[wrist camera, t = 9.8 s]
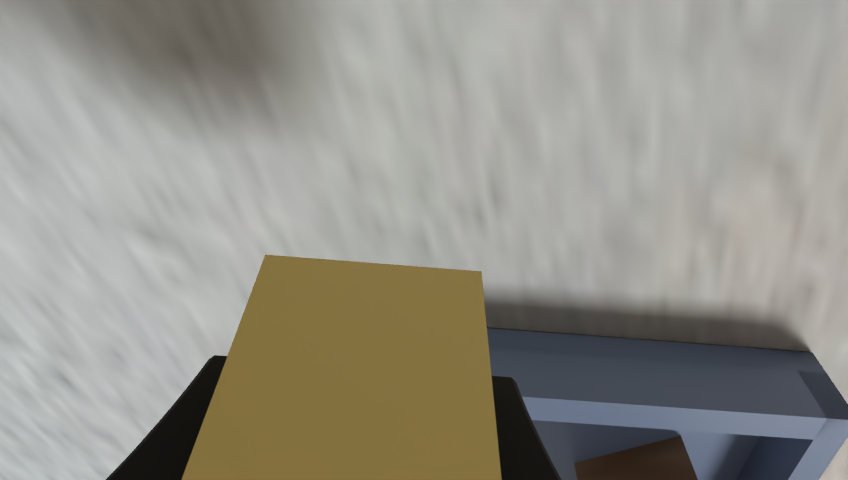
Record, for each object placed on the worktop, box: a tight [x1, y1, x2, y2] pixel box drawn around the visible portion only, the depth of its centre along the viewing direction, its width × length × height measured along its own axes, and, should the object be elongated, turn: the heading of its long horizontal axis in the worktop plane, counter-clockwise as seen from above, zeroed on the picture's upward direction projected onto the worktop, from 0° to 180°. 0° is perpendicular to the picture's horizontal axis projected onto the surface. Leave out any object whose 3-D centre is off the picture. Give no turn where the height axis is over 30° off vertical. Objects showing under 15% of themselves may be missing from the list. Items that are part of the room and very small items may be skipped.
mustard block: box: [182, 255, 502, 480], centre depth 11 cm, size 4×4×6 cm
